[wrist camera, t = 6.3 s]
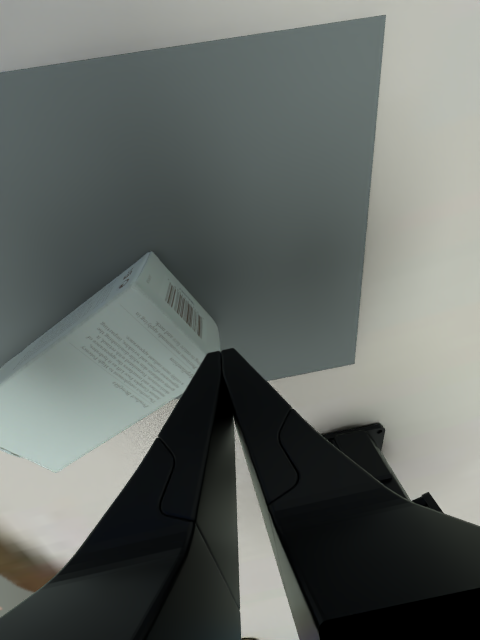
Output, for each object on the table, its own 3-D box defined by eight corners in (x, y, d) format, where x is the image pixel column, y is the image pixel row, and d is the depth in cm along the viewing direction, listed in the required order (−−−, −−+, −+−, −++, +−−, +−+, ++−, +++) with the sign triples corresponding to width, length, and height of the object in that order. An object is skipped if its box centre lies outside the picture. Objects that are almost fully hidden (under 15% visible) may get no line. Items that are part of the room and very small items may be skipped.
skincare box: (153, 246, 15) (-2, 360, 17) (133, 281, 11) (-61, 421, 13) (222, 327, 17) (82, 414, 20) (226, 378, 14) (52, 477, 16)
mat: (351, 360, 21) (354, 363, 21) (21, 425, 20) (17, 430, 20) (380, 19, 12) (386, 14, 11) (-238, 111, 11) (-252, 110, 10)
